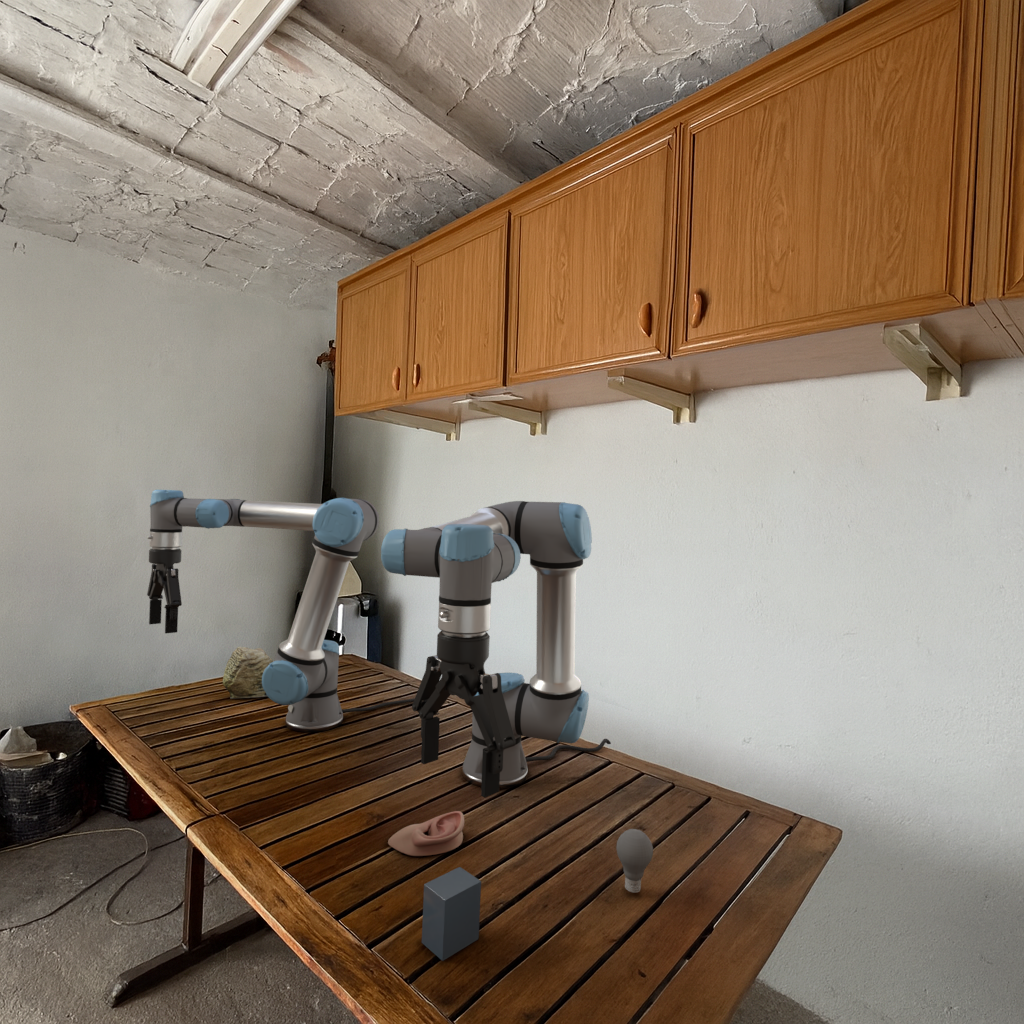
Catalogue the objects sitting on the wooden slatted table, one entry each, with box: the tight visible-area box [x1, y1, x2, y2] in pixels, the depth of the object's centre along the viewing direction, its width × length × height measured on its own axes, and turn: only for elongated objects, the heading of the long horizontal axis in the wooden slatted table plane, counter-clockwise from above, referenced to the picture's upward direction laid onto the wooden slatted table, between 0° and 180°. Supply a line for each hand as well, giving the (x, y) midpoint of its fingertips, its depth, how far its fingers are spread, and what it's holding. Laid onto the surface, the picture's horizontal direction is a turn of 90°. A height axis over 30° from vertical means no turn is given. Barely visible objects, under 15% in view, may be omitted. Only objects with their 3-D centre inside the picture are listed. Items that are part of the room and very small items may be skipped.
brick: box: [421, 866, 482, 962], centre depth 92 cm, size 5×7×9 cm
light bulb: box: [615, 828, 654, 894], centre depth 106 cm, size 6×6×10 cm
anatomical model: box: [387, 810, 465, 857], centre depth 118 cm, size 13×4×12 cm
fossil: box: [222, 646, 274, 699], centre depth 198 cm, size 9×18×15 cm, turn 132°
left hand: (162, 628), depth 168 cm, fingers open, 13 cm apart
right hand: (458, 777), depth 92 cm, fingers open, 13 cm apart
